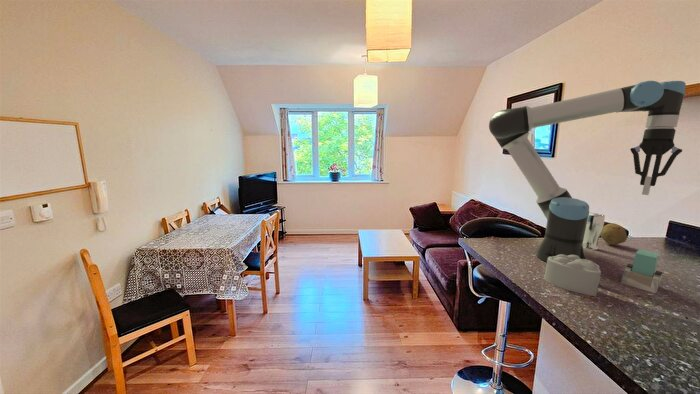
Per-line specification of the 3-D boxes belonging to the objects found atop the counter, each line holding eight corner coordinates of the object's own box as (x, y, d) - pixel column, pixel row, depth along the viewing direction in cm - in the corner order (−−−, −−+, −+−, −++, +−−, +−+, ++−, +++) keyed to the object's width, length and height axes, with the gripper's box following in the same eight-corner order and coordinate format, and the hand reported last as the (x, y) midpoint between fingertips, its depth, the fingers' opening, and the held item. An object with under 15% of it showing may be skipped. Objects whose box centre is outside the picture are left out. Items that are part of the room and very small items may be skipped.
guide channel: (624, 273, 98) (627, 257, 97) (666, 284, 91) (671, 267, 90) (614, 286, 89) (617, 268, 88) (660, 300, 81) (665, 281, 80)
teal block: (632, 278, 91) (639, 249, 90) (651, 284, 88) (659, 253, 86) (628, 283, 88) (635, 253, 86) (648, 289, 84) (656, 258, 83)
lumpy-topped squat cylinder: (597, 297, 81) (603, 269, 80) (543, 283, 89) (547, 257, 87) (594, 284, 90) (599, 258, 88) (545, 272, 97) (549, 248, 96)
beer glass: (597, 247, 124) (603, 214, 122) (600, 251, 118) (607, 217, 116) (577, 243, 128) (583, 211, 125) (579, 248, 122) (585, 214, 119)
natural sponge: (591, 241, 132) (595, 220, 130) (609, 241, 133) (613, 220, 131) (611, 248, 123) (615, 226, 122) (629, 248, 124) (634, 226, 122)
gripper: (689, 128, 97) (672, 196, 101) (636, 129, 107) (623, 191, 111) (687, 127, 92) (670, 198, 96) (632, 128, 102) (619, 192, 107)
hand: (645, 194), depth 104 cm, fingers closed
